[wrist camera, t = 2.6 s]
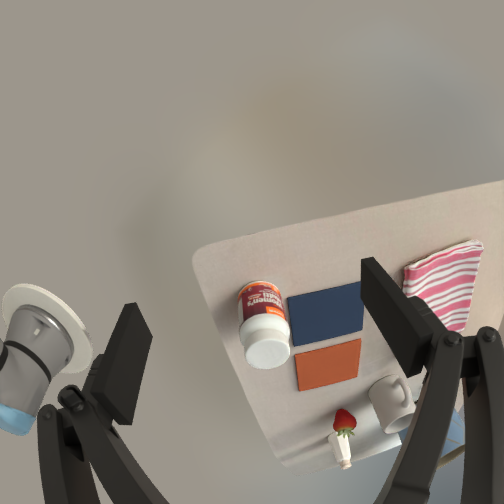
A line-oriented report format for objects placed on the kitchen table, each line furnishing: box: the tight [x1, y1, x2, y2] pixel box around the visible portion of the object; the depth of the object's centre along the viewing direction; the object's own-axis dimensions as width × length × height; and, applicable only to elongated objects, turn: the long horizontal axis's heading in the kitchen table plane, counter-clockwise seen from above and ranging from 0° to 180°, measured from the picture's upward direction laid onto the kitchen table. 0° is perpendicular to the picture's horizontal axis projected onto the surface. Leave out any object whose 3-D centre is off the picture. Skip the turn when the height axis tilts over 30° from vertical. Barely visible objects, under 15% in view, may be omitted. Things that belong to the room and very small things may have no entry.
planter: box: [398, 402, 465, 470], centre depth 57 cm, size 19×19×20 cm
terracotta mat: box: [295, 339, 361, 391], centre depth 50 cm, size 12×11×1 cm
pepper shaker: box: [328, 431, 351, 469], centre depth 60 cm, size 5×5×11 cm
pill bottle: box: [238, 281, 290, 369], centre depth 36 cm, size 6×6×11 cm
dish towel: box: [402, 240, 484, 333], centre depth 44 cm, size 17×23×4 cm
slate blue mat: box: [287, 281, 364, 347], centre depth 44 cm, size 12×10×1 cm
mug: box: [368, 375, 416, 434], centre depth 50 cm, size 12×8×11 cm
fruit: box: [333, 409, 357, 439], centre depth 54 cm, size 5×5×8 cm
